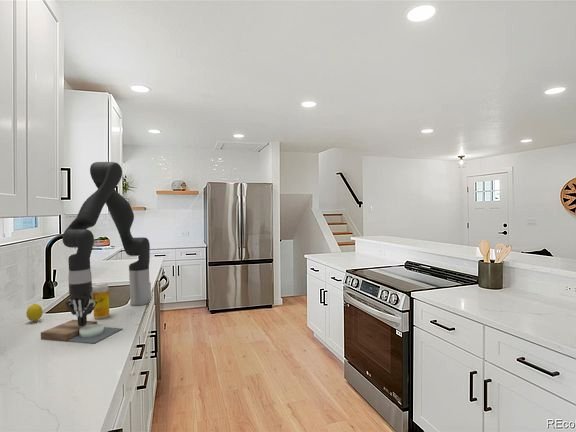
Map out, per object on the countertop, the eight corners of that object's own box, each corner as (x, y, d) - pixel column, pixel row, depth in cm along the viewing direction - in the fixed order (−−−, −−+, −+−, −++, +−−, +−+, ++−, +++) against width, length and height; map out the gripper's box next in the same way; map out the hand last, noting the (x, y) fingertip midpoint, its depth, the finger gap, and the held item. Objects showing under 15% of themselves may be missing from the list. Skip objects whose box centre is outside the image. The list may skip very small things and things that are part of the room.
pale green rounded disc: (91, 329, 132) (90, 323, 132) (108, 330, 130) (108, 324, 130) (74, 337, 124) (74, 331, 124) (92, 338, 122) (92, 332, 122)
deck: (73, 325, 138) (72, 319, 138) (97, 327, 135) (97, 321, 135) (40, 339, 124) (40, 332, 124) (67, 341, 121) (66, 334, 121)
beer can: (90, 318, 146) (89, 284, 146) (104, 314, 151) (102, 281, 151) (99, 320, 143) (97, 286, 143) (112, 316, 149) (111, 282, 148)
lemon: (34, 324, 140) (33, 305, 140) (23, 323, 141) (22, 305, 141) (46, 319, 146) (45, 301, 145) (35, 319, 147) (34, 301, 146)
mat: (98, 327, 135) (98, 326, 135) (122, 329, 132) (122, 328, 132) (67, 341, 121) (67, 340, 121) (94, 343, 118) (94, 342, 118)
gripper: (102, 279, 129) (104, 323, 130) (74, 278, 133) (76, 321, 133) (86, 283, 122) (88, 330, 123) (57, 282, 125) (59, 328, 126)
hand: (82, 325), depth 128 cm, fingers closed
